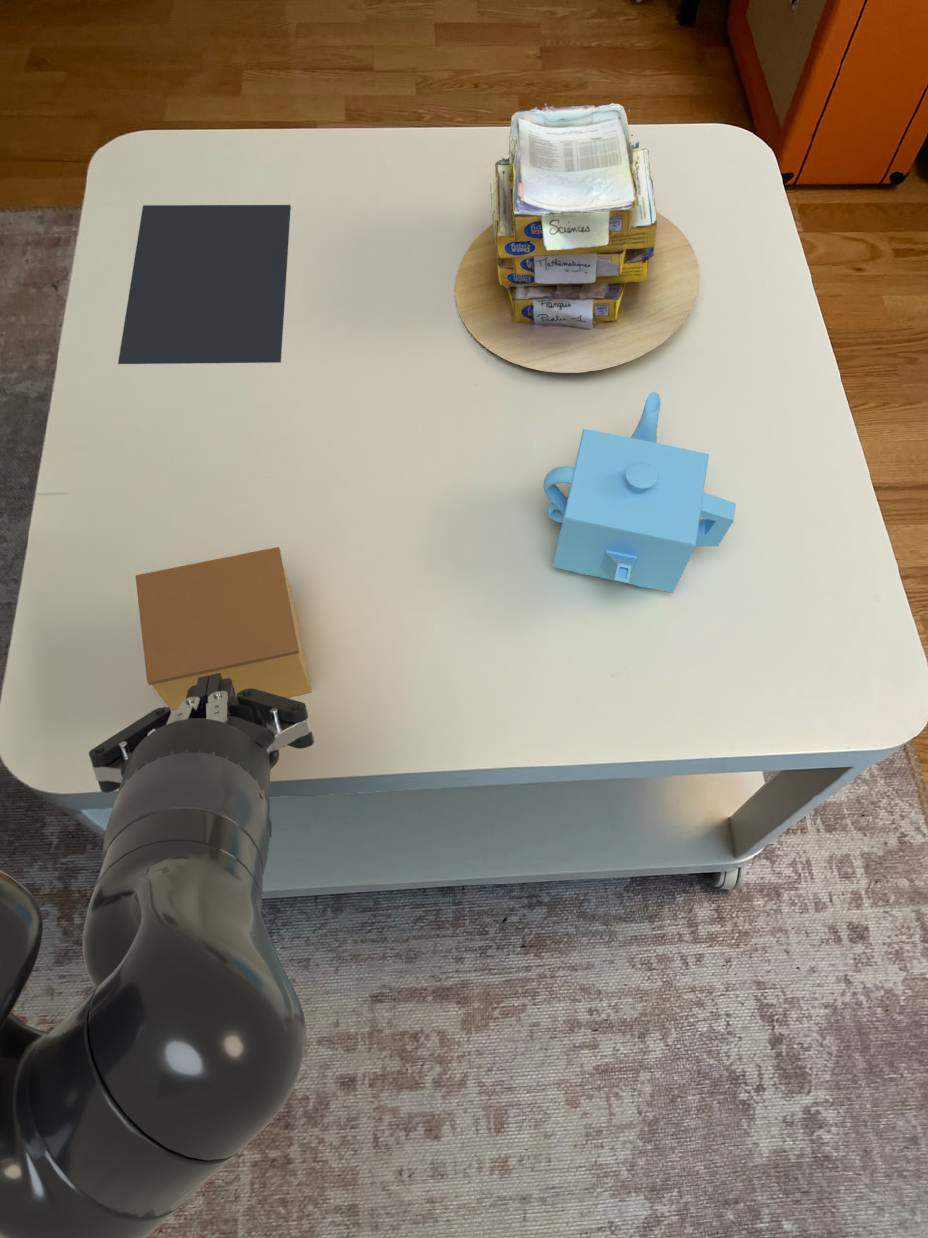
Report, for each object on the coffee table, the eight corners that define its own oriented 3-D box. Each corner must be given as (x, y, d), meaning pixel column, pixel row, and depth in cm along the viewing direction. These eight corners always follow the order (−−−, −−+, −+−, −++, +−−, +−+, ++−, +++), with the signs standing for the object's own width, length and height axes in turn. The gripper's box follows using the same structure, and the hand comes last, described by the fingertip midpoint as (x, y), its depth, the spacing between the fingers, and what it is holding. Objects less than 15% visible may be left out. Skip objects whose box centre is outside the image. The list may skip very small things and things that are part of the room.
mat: (118, 364, 93) (117, 363, 93) (143, 206, 102) (143, 205, 102) (280, 363, 94) (280, 362, 93) (290, 205, 103) (290, 204, 103)
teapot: (517, 606, 82) (528, 541, 72) (555, 443, 90) (570, 363, 80) (696, 645, 81) (732, 585, 71) (719, 476, 89) (755, 400, 79)
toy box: (312, 693, 78) (298, 650, 70) (177, 723, 77) (147, 682, 69) (294, 597, 82) (278, 546, 74) (165, 624, 81) (135, 574, 73)
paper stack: (425, 352, 94) (423, 216, 79) (490, 186, 105) (499, 39, 90) (665, 411, 92) (710, 283, 77) (708, 235, 102) (755, 92, 87)
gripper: (308, 726, 46) (300, 614, 62) (28, 789, 44) (95, 657, 60) (339, 855, 48) (323, 716, 64) (76, 919, 46) (127, 760, 63)
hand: (213, 688), depth 62 cm, fingers closed
